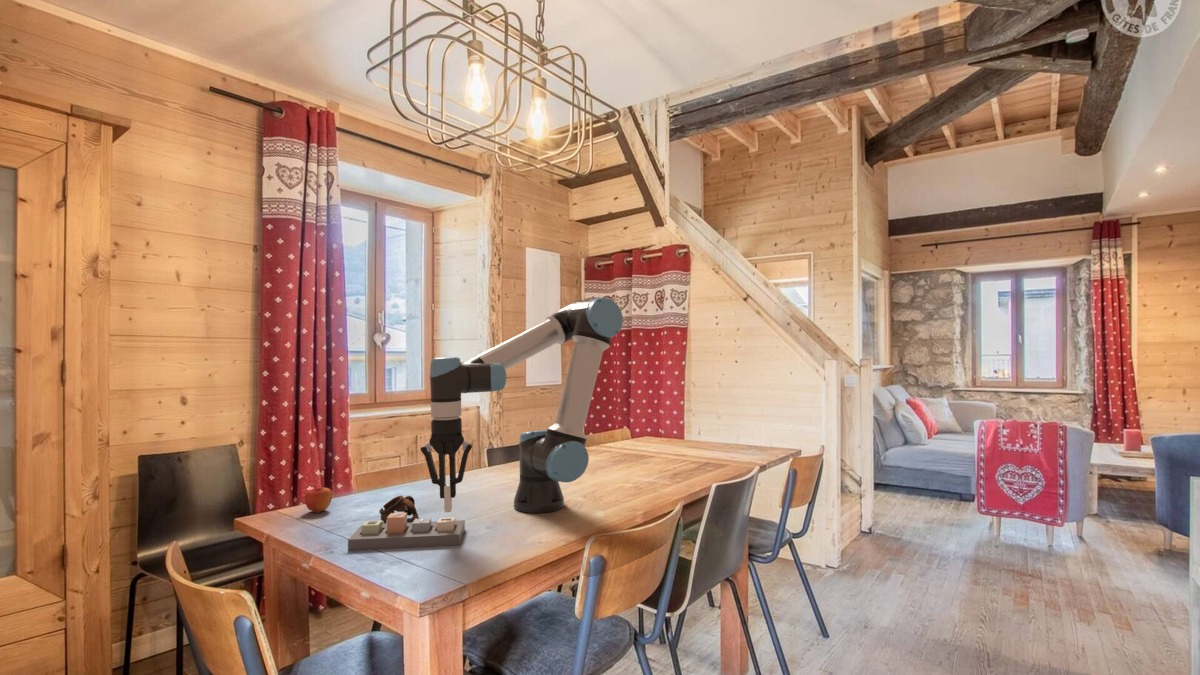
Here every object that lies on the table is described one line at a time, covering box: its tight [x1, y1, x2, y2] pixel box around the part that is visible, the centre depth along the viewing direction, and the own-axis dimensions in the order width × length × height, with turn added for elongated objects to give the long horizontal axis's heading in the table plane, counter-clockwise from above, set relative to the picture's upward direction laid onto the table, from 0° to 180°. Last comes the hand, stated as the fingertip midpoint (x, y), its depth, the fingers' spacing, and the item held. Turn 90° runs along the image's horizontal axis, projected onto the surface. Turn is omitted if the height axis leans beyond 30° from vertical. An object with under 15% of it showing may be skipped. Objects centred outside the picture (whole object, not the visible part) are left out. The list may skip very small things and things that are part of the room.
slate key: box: [411, 517, 432, 532], centre depth 145 cm, size 4×4×4 cm
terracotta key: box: [386, 512, 408, 533], centre depth 144 cm, size 4×4×4 cm
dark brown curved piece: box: [378, 495, 420, 523], centre depth 160 cm, size 12×10×8 cm
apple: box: [304, 485, 333, 514], centre depth 170 cm, size 7×7×8 cm
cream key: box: [437, 516, 456, 531], centre depth 146 cm, size 4×4×4 cm
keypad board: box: [347, 519, 466, 551], centre depth 144 cm, size 26×12×2 cm, turn 97°
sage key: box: [361, 519, 384, 535], centre depth 143 cm, size 4×4×4 cm
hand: (448, 510), depth 146 cm, fingers closed
